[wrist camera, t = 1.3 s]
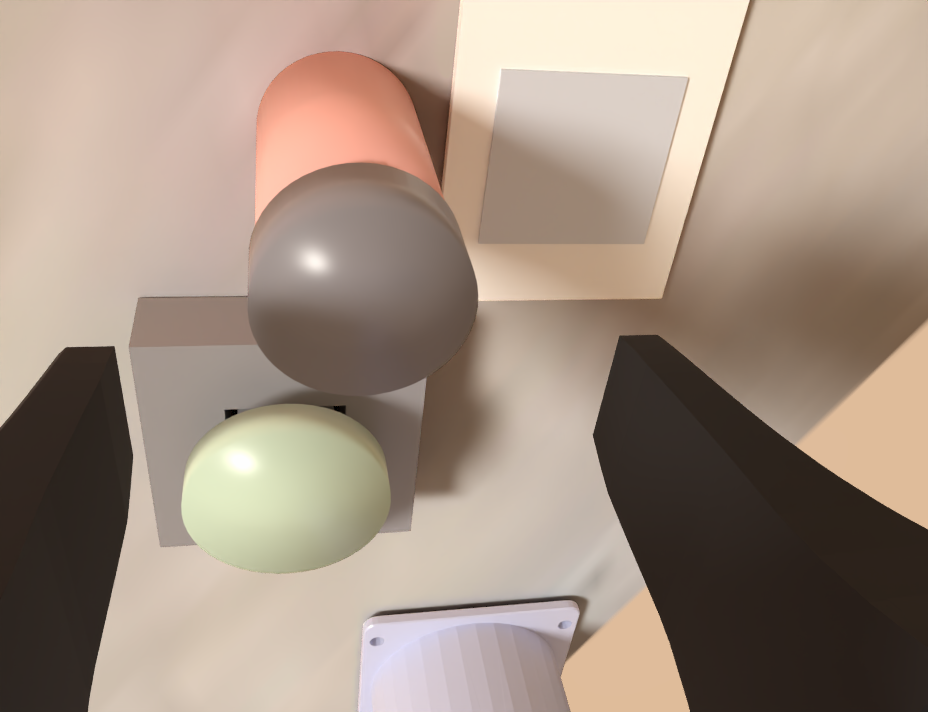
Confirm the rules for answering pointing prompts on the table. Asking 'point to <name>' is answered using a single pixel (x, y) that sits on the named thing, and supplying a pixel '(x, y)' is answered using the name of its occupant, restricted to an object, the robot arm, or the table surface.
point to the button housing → (240, 399)
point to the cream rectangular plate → (581, 139)
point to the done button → (285, 489)
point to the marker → (352, 234)
